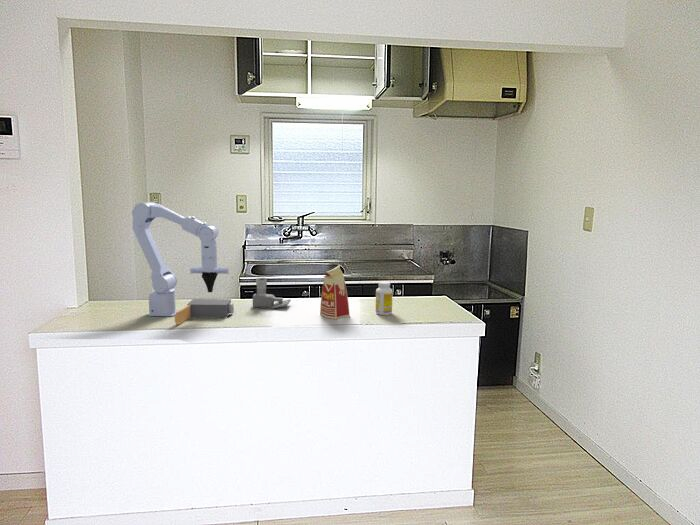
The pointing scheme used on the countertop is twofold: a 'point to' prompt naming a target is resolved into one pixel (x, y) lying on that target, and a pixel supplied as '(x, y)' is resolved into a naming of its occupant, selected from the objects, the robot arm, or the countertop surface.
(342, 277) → the milk carton
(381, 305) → the supplement bottle
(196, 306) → the camera case
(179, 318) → the case door
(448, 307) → the countertop surface
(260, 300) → the camera
